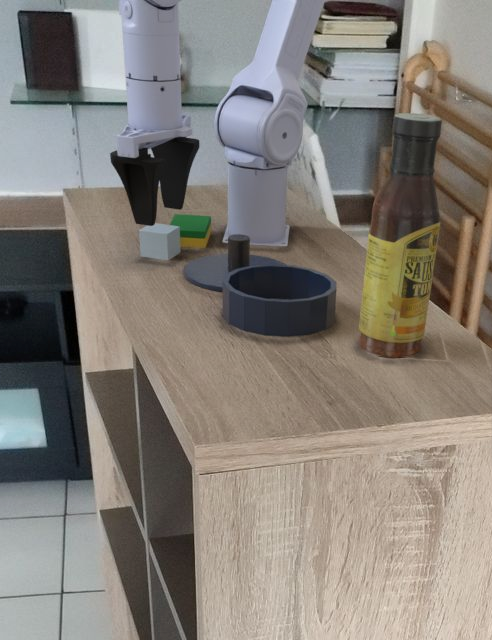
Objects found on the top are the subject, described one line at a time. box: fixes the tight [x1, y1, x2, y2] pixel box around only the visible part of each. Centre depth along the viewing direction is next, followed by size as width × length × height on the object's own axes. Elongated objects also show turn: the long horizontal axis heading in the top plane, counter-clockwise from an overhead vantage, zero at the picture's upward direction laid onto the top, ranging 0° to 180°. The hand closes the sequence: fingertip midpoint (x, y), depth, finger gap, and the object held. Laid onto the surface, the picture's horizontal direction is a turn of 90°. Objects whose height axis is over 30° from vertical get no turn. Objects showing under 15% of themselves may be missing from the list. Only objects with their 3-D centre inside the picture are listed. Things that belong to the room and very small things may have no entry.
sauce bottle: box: [358, 112, 443, 359], centre depth 80 cm, size 6×6×20 cm
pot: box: [222, 264, 338, 338], centre depth 90 cm, size 11×11×4 cm
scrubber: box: [169, 213, 212, 249], centre depth 110 cm, size 7×4×2 cm, turn 179°
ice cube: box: [138, 222, 181, 261], centre depth 104 cm, size 4×4×4 cm
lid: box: [183, 234, 288, 293], centre depth 99 cm, size 12×12×5 cm
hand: (159, 215), depth 102 cm, fingers open, 7 cm apart
